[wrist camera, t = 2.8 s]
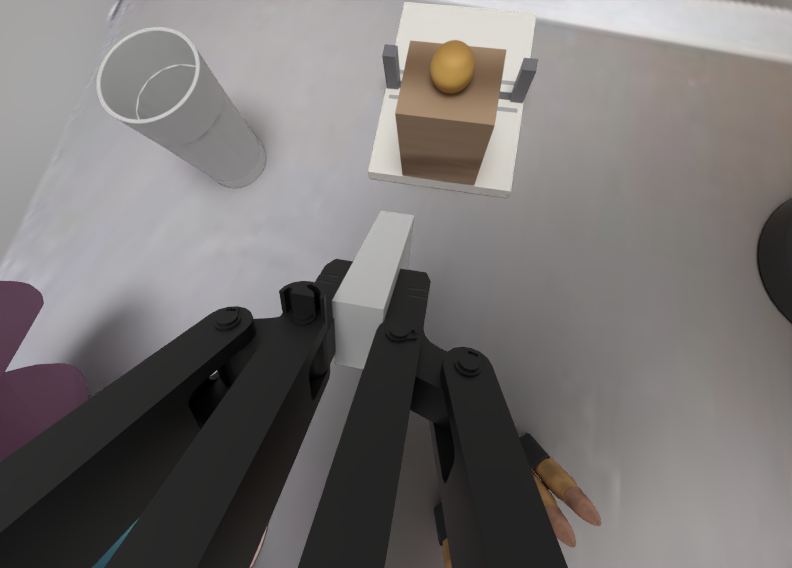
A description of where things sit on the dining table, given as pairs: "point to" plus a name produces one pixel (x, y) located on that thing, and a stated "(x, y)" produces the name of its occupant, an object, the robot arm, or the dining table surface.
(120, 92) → the cup
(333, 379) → the dining table surface
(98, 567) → the flower arrangement
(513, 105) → the stand
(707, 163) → the dining table surface
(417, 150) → the block
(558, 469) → the ammunition clip
